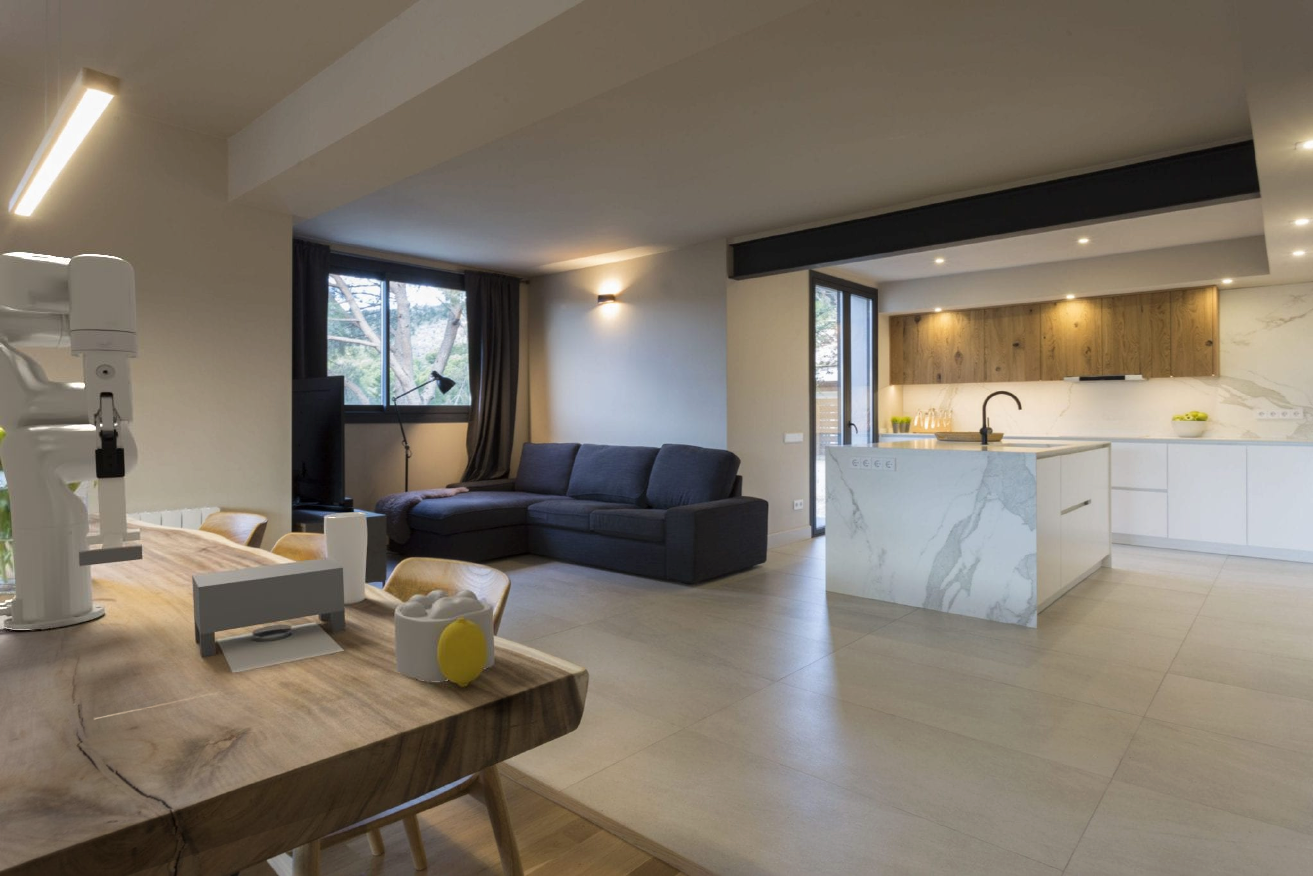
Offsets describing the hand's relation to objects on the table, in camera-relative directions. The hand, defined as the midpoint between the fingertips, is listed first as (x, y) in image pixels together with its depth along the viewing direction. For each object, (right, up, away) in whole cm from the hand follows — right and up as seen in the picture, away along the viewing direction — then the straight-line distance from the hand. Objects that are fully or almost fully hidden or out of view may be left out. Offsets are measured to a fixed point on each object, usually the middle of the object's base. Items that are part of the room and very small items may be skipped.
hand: (111, 475), depth 103 cm
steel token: (+22, -23, +2) cm, 32 cm away
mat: (+25, -24, -2) cm, 34 cm away
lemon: (+55, -23, -19) cm, 63 cm away
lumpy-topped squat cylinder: (+50, -23, -11) cm, 56 cm away
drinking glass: (+24, -23, +22) cm, 40 cm away
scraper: (+6, -9, -7) cm, 13 cm away
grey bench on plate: (+21, -23, +3) cm, 32 cm away
